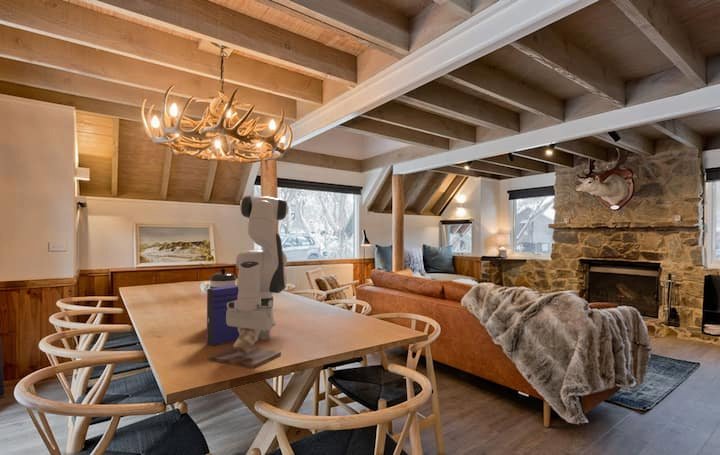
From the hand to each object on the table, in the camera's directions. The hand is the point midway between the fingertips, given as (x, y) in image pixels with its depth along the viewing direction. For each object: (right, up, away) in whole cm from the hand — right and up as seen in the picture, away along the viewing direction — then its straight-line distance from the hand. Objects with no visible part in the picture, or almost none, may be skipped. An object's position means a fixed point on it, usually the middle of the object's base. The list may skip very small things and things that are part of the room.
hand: (248, 339), depth 144 cm
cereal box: (-16, -7, +21) cm, 27 cm away
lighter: (-1, -7, +24) cm, 25 cm away
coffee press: (-26, -8, +46) cm, 53 cm away
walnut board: (-1, -7, -1) cm, 7 cm away
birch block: (-2, -3, -4) cm, 5 cm away
